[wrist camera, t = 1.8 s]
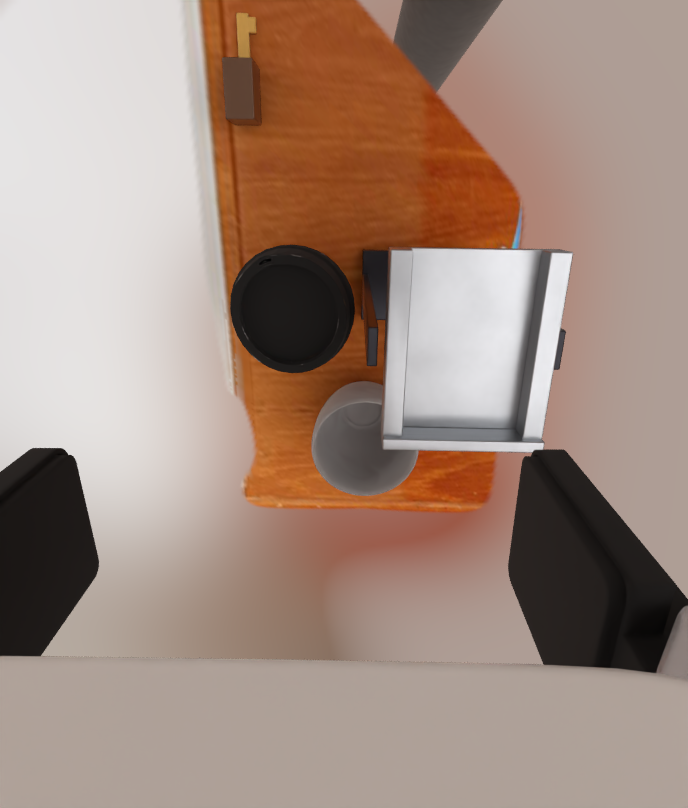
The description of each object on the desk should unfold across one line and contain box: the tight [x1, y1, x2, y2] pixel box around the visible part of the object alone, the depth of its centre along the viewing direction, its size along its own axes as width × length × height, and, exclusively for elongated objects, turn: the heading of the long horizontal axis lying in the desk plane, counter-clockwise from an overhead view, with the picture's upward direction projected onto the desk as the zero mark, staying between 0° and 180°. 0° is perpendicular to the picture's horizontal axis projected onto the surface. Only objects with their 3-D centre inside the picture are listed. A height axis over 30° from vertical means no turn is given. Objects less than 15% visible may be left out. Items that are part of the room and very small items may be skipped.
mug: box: [312, 381, 418, 496], centre depth 46 cm, size 12×9×10 cm
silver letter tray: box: [381, 247, 573, 453], centre depth 25 cm, size 10×8×2 cm
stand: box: [361, 249, 566, 370], centre depth 36 cm, size 6×10×22 cm, turn 89°
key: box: [222, 13, 261, 125], centre depth 39 cm, size 8×2×3 cm, turn 179°
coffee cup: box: [230, 245, 355, 373], centre depth 39 cm, size 8×8×15 cm
